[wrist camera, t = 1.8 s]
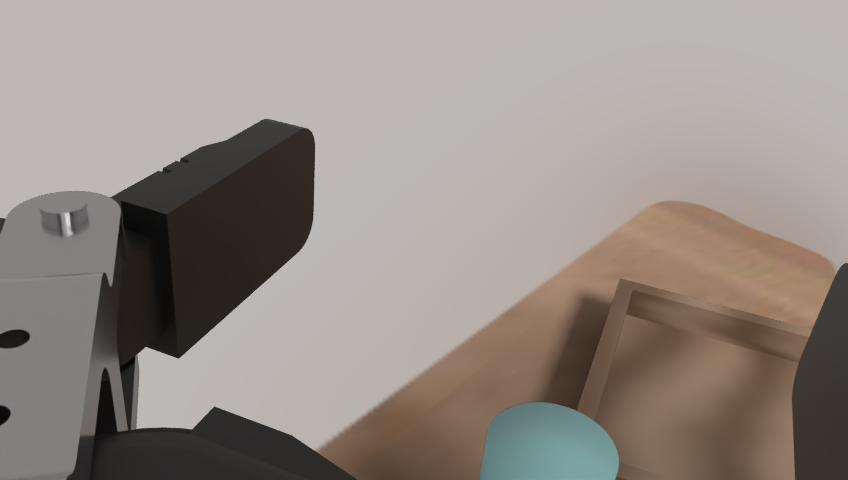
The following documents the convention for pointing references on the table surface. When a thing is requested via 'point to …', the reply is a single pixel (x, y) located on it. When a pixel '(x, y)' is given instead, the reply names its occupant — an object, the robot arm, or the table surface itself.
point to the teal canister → (547, 445)
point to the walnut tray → (694, 388)
